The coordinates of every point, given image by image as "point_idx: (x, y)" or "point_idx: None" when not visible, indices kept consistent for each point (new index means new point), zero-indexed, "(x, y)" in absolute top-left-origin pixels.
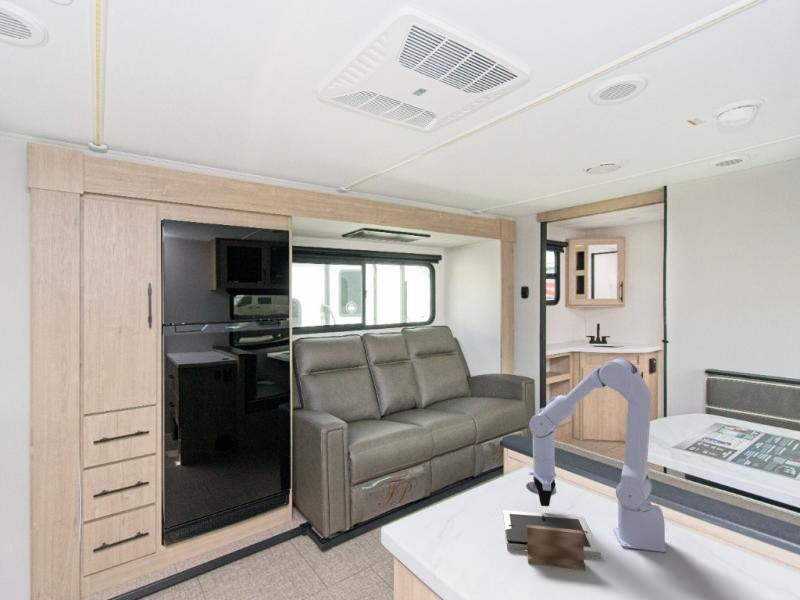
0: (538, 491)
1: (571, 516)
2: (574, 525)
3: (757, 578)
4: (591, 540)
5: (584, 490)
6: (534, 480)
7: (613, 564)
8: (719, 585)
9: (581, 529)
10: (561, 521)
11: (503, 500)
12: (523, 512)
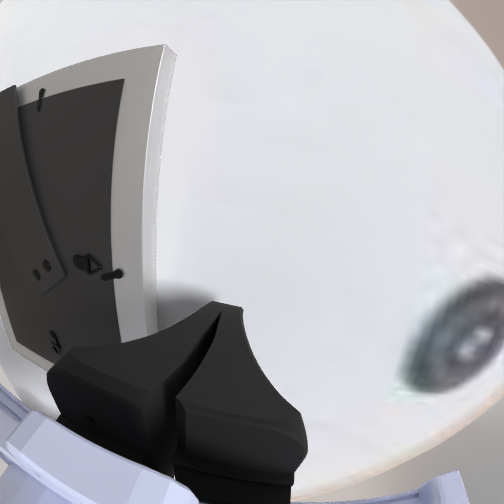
0: (137, 341)
1: None
2: None
3: None
4: (38, 360)
5: (392, 456)
6: (96, 392)
7: (17, 352)
8: None
9: None
10: (93, 335)
11: (366, 81)
12: (135, 163)
